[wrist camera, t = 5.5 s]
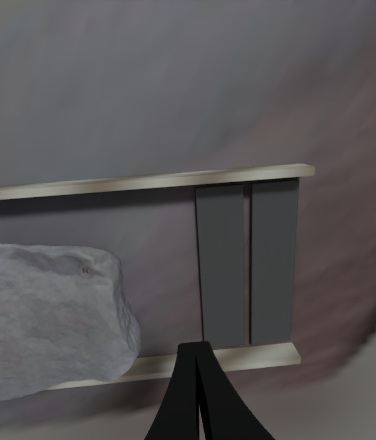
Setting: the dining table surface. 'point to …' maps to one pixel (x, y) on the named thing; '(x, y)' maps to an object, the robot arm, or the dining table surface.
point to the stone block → (62, 318)
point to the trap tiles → (260, 261)
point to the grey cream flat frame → (165, 363)
